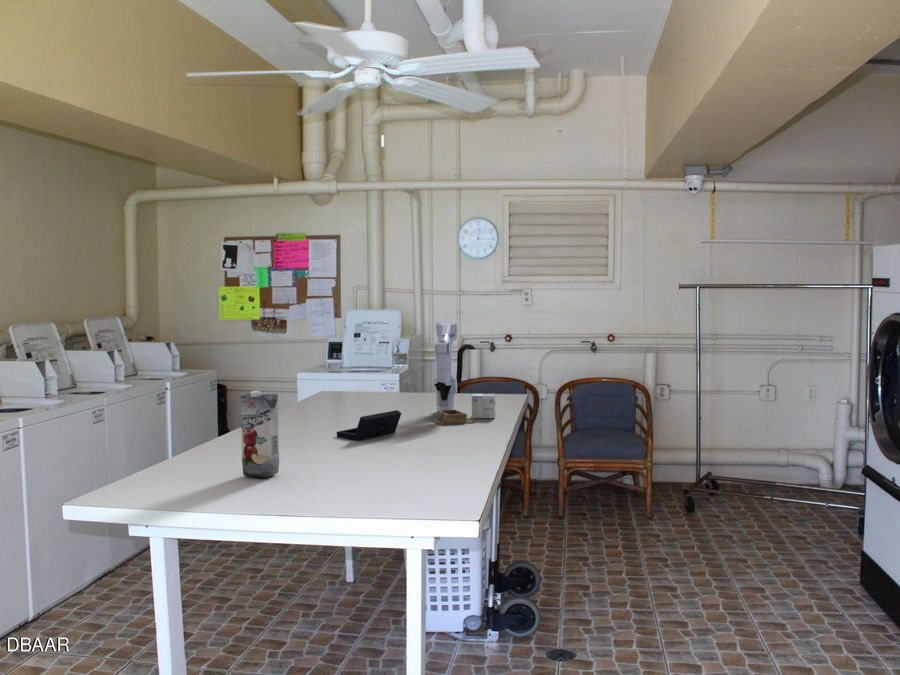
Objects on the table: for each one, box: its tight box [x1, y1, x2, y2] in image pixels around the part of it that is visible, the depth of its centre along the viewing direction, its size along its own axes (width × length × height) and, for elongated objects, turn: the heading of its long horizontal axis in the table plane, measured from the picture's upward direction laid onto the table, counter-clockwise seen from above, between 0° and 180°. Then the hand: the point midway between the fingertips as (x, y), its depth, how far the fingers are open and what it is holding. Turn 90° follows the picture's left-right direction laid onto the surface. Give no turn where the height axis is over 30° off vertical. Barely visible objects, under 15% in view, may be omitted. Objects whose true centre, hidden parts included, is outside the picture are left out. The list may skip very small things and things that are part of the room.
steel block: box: [435, 389, 448, 407], centre depth 327 cm, size 4×4×7 cm
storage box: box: [336, 409, 402, 442], centre depth 297 cm, size 21×16×10 cm
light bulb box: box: [471, 393, 496, 420], centre depth 337 cm, size 11×7×11 cm, turn 84°
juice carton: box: [239, 390, 280, 479], centre depth 233 cm, size 9×10×27 cm
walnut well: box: [429, 409, 475, 426], centre depth 328 cm, size 14×16×4 cm
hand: (443, 399), depth 327 cm, fingers closed on steel block, 4 cm apart
